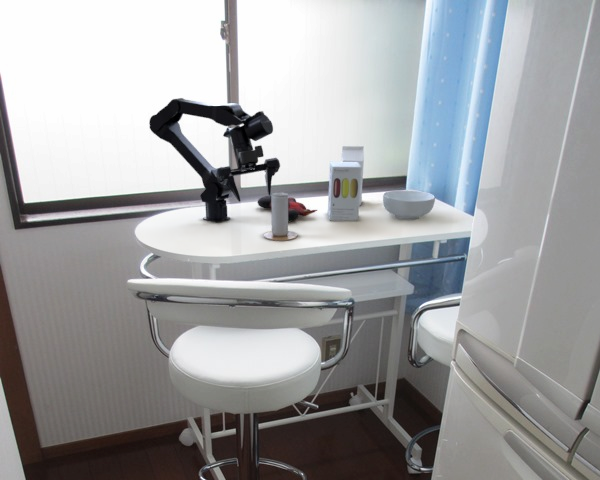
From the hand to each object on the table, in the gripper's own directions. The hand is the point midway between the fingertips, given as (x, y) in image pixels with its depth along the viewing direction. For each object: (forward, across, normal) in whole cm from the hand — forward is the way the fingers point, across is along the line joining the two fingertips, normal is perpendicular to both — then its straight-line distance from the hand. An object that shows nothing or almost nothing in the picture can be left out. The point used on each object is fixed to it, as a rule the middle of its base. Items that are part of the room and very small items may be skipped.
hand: (254, 198), depth 204 cm
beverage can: (+13, +4, -2) cm, 14 cm away
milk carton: (0, +38, +30) cm, 49 cm away
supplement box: (+8, +30, +14) cm, 34 cm away
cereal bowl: (+12, +50, +12) cm, 53 cm away
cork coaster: (+13, +5, -2) cm, 14 cm away
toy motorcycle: (+1, +14, +21) cm, 25 cm away
